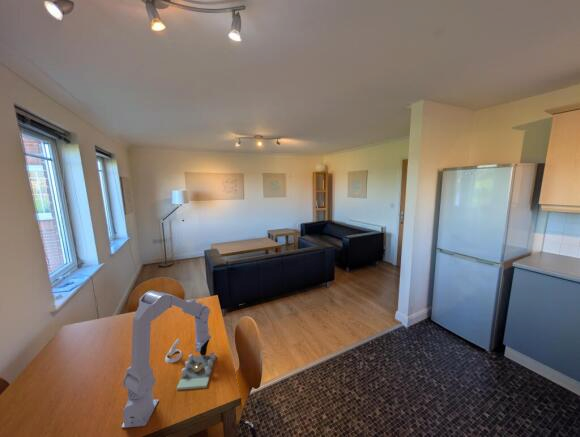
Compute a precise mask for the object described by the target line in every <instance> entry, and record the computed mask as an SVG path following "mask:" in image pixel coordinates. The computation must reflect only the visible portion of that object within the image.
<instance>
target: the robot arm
mask: <svg viewBox="0 0 580 437" xmlns="http://www.w3.org/2000/svg"><path fill="white" fill-rule="evenodd" d="M138 300H139V301H138V307H137V309H136V311H135V314H134V316H133V318H132V337H131V359H130V360H131V361H130V362H131V364H130V366H129V367H128V368H127V369H126V370H125V372H126V373H125V375H124V378H123V381H122V386H123V387H124V388H125V389H126V388H127V401H126V405H125V407H124V408H123V410H122V419H123V423H122V425H121V428H122V429H125V428H134V427H135V428H136V427H145V426H146V425H147V424H148V422H149V420H150V418H151V416H152V414H153V412H154V410H155V408H156V407H157V405H158V403H159V399H156V398H155V399H154V395H153V394H154V393H153V388H154V386H155V383H156V377H155V376H154V371H153V368H152V367H151V364H150V355H151V354H150V350H151V348H150V347H151V327H152V326H151V324H152V321H154V320H156V319H158V318H159V317H160V316H161V315H162V314H163V313H165V312H166V311H167V310H168V309H171V308H172V307H173V306H174V307H176V308H181V311H182V312H183V313H184V314H187V315H190V316H191V317H194V326H195V330H194V331H195V352H196V353H199V354H200V356H207V350H208V344H209V341H210V340H211V338H212V335H210V328H209V316H210V313H211V309H210V308H209V306H207V305H204V304H203V303H202V302H199V301H198V302H197V300H196V299H195V298H192V299H187V300H185V299H182V298H180V297H178V296H176V295H173V294H170V293H166V292H161V291H156V290H154V289H153V290H148V291H147V292H145V293H144V294H143V295H142V296H141V297H140V298H139V299H138Z"/></svg>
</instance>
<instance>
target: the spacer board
mask: <svg viewBox="0 0 580 437" xmlns="http://www.w3.org/2000/svg"><path fill="white" fill-rule="evenodd" d="M187 359H188V360H186V361H185V362H184V366H185V367H183V368H182V369H181V378H180V380H179V382H178V383H177V386H176V391H181V390H193V389H205V388H208V384H209V380H210V377H211V375H212V371H213V368H214V365H215V362H216V359H217V354H215V352H211V353H209V355H203V356H201V355H196V356H195V355H194V354H193V353H190V354H189V355H188V358H187ZM196 363H202V364H203V370H202V371H201V372H200V373H197V374H195V373H194V372H193V366H194V365H195V364H196Z"/></svg>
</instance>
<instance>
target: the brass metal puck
mask: <svg viewBox="0 0 580 437" xmlns="http://www.w3.org/2000/svg"><path fill="white" fill-rule="evenodd" d="M202 370H203V364H202V363H196V364H195V365H194V366H193V372H194V373H195V374H197V373H200V372H201V371H202Z"/></svg>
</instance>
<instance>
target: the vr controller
mask: <svg viewBox="0 0 580 437" xmlns="http://www.w3.org/2000/svg"><path fill="white" fill-rule="evenodd" d="M179 343H180V339H179V338H177V339H175V342H174V343H173V344H172V345H171V347H170V349H169V351H168V352H167V354H166V356H165V358H164V361H165V363H167V364H173V363H175V362H177V361H179V360H180V359H182V357H183V352H182V351H181V349H176V347H177V346H178V345H179ZM176 353H178V355H177V356H174V357H172V356H173V355H174V354H176ZM168 356H169V357H168ZM170 357H172V358H170Z"/></svg>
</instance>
